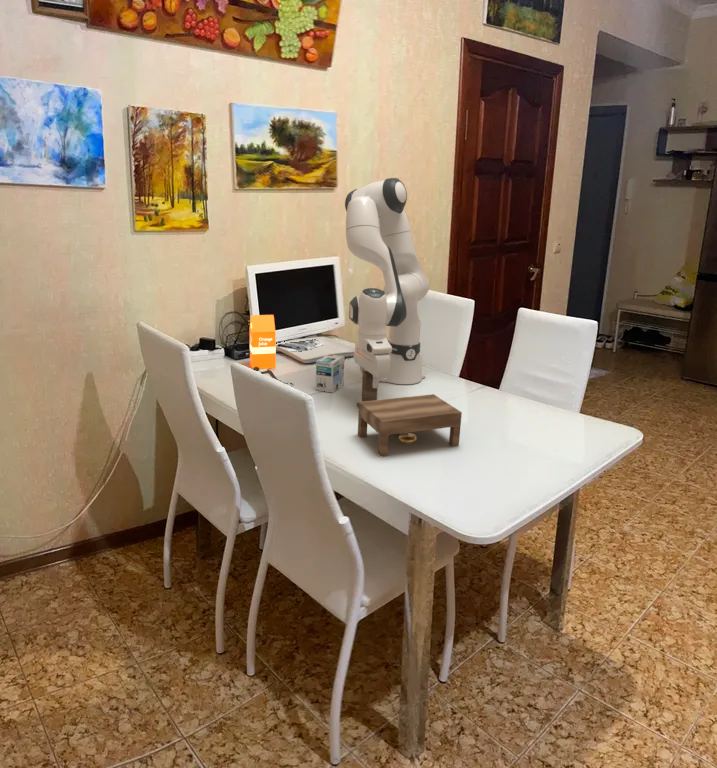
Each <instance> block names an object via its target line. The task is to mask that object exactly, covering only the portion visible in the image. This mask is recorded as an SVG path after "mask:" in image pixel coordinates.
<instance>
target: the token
mask: <svg viewBox="0 0 717 768" xmlns="http://www.w3.org/2000/svg"><path fill="white" fill-rule="evenodd" d="M398 442H400V443H401V442H402V444H404V445H405V444H406V445H411V444H415V443H416V442H417V435H416V434H414V433H412V432H408V433H400V434H398Z"/></svg>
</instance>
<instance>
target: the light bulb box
mask: <svg viewBox="0 0 717 768" xmlns="http://www.w3.org/2000/svg"><path fill="white" fill-rule="evenodd" d="M345 358H346V357H344V356H338V355H332V354H327V355H326V356H324V357H322V358H321V359H319V360H317V361H316V362H315V363H316V364H315V366H316V368H315V370H316V371H315V375H316V376H315V391H318V390H319V391H318V392H324V391H325V393H330V392H331V393H335V392H336V391H338V390H339V389H341V388H342V387H344V386H345V385H344V383H345V362H346V361H345V360H346V359H345Z"/></svg>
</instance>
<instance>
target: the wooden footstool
mask: <svg viewBox="0 0 717 768" xmlns="http://www.w3.org/2000/svg"><path fill="white" fill-rule="evenodd" d="M358 403H359V407H358V416H357V417H358V421H357V422H358V423H357V436H358V437H359V438H363V437H362V436H367V437H368V426H370V427H371V428H372V429H373V430H374V431H376V432H377V433H378V436H377V453H378V454H379V455H380V456H382V457H387V456H388V453H389V452H388V450H389V449H388V447H389V436H390V435H391V436H392V435H400V434H402V433H415V432H422V431H430V430H439V429H446V428H449V439H448V440H449V441H448V445H450V446H451V447H453V448H454V447H459V446H460V438H461V437H460V436H461V424H462V414H463V412H462V411H460V410H459V409H457V408H456V407H455V406H453V405H451V404H450V403H448V402H446V401H445V400H443V399H442V398H440V397H439V396H437V395H436V394H434V393H433V394H426V395H425V394H423V395H414V396H404V397H394V398H385V399H383V398H382V399H377V400H373V401H363V402H362V401H358ZM377 453H376V454H377ZM378 454H377V455H378ZM379 455H378V456H379ZM380 456H379V457H380Z"/></svg>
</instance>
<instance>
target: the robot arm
mask: <svg viewBox="0 0 717 768" xmlns="http://www.w3.org/2000/svg"><path fill="white" fill-rule="evenodd" d="M407 200H408V193H407V188H406V186H405V184H404V183H403V182H402V181H401V179H399V177H398V178H397V177H389V178H385V179H383V180H377V181H373V182H371V183H369V184H366V185H363V186H361V187H359V188H355V189H353V190H351V191H350V192H348V193H347V194H346V197H345V200H344V208H345V211H346V216H345V237H346V238H345V239H346V244H347V249H348V250H349V251H350V252H351V254H353V255H354V256H355V257H357V258H358V259H360V260H363V261H365V262H368V263H370V264H372V265H374V266H376V267H377V268H379V270H381V273H382V275H383V278H384V279H383V280H384V283H385V285H384V287H383V290H382V289H380V288H376V287H368V288H364V289H363V290H361V293H360V295H356V296H354V297H353V298H352V299H351V300H350V302H349V312H348V318H349V320H350V321H351V322H353V324H354V325H358V330H357V341H356V342H355V345H354V348H355V351H354V355H353V360H354V363H355V364H357V365H358V366H360V372H361V378H362V377H363V371H368V372H369V373H371V374H372V375H373V382H372V383H371V384H372V385H371V386H372V387H373V388H377V389H378V388H379V382H381V383H382V382H383V383H390V384H396V385H413V384H418V383H420V382H422V379H424V378H425V377H426V374H425V373H423V356H422V355H421V354H420V352H421V342H420V340H421V339H420V337H421V336H420V335H421V322H422V321H421V319H420V318H419V313H418V302H419V301H421V300H423V299H424V298H425V297H426V296H427V294H428V292H429V290H430V280H429V278H428V277H427V275H426V273H425V271H424V270H423V268H422V265H421V262H420V259H419V258H418V255H417V252H416V247H415V243H414V239H413V233H412V228H411V225H410V221H409V218H408V215H407V213H406V210H405V206H406V204H407ZM386 326H387V327H389V333H388V334H389V335H388V337H387V329H386Z"/></svg>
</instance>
